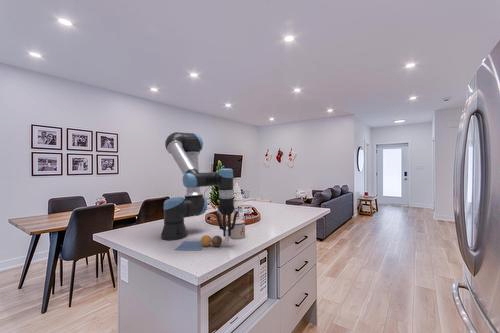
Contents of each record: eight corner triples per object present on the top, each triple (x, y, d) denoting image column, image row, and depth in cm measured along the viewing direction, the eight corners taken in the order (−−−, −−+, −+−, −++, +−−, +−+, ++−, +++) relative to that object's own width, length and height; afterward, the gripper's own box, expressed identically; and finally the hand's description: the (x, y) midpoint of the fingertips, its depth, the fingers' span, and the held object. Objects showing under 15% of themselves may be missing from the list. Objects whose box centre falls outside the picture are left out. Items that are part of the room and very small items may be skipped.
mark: (174, 250, 120) (174, 249, 120) (184, 241, 134) (184, 241, 134) (201, 250, 119) (201, 250, 119) (208, 241, 132) (208, 241, 132)
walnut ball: (223, 243, 122) (215, 250, 122) (225, 239, 127) (217, 246, 127) (215, 235, 122) (208, 242, 122) (217, 232, 127) (210, 238, 127)
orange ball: (200, 248, 123) (198, 237, 123) (203, 244, 128) (201, 234, 129) (210, 246, 122) (208, 236, 123) (213, 243, 128) (211, 233, 128)
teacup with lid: (243, 239, 135) (243, 219, 135) (228, 238, 137) (227, 218, 137) (247, 233, 147) (247, 214, 147) (233, 233, 149) (233, 214, 149)
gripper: (212, 198, 121) (213, 244, 121) (237, 198, 120) (238, 245, 120) (216, 196, 129) (216, 240, 129) (239, 196, 127) (240, 240, 127)
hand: (227, 242), depth 124 cm, fingers closed
